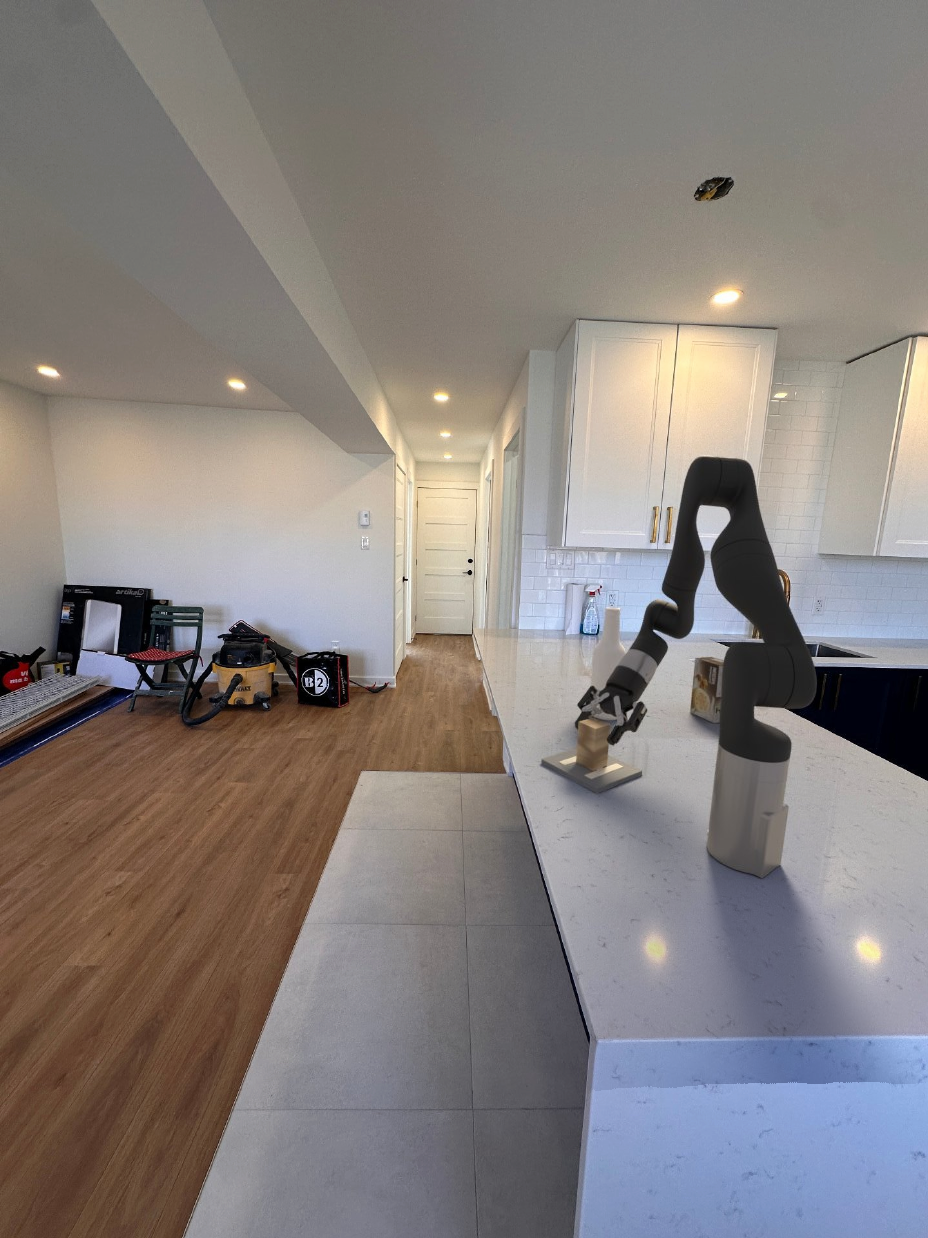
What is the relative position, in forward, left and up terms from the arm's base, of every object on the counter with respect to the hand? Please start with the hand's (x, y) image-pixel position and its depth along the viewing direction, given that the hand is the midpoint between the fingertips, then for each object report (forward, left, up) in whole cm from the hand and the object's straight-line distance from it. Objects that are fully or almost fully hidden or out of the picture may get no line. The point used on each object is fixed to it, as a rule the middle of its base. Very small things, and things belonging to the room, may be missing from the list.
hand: (593, 736), depth 102 cm
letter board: (0, 0, -7) cm, 7 cm away
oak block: (0, 0, -6) cm, 6 cm away
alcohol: (+20, -29, -7) cm, 36 cm away
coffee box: (+4, -54, -8) cm, 55 cm away
